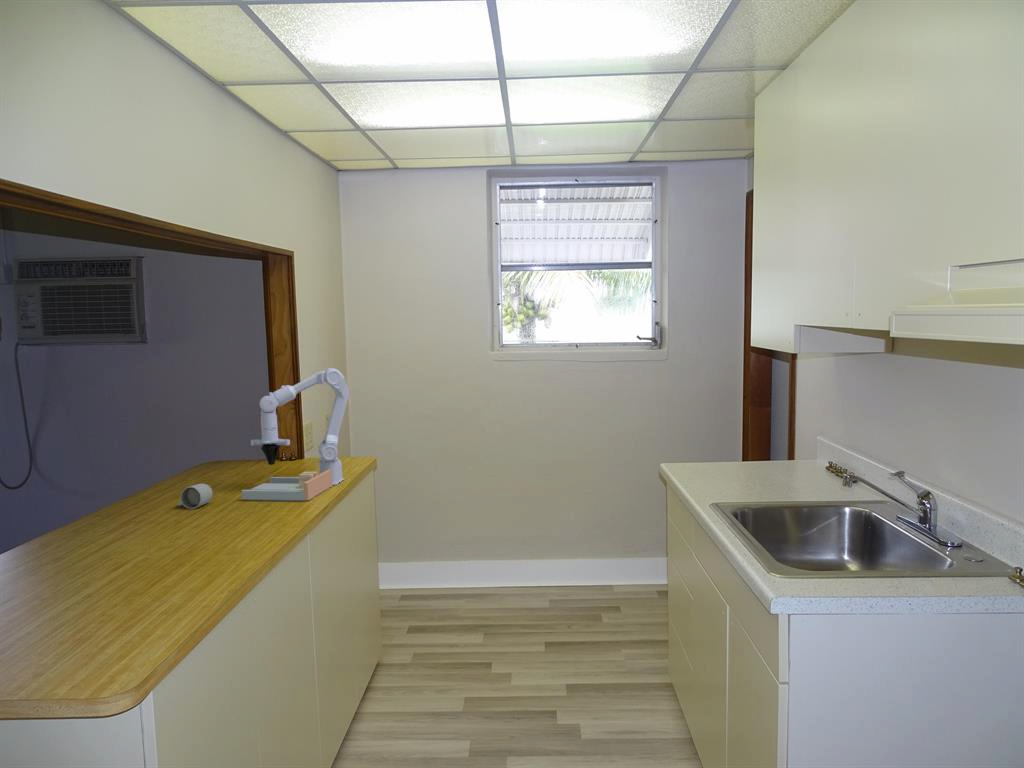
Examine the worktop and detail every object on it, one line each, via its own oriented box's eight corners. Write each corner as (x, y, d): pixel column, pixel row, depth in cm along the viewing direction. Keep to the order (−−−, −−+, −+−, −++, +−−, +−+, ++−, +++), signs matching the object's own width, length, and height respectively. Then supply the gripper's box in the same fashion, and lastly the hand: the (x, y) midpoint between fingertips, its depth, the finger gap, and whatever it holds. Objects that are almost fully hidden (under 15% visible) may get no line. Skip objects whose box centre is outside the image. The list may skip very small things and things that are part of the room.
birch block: (305, 485, 248) (304, 471, 248) (318, 485, 247) (317, 471, 247) (299, 488, 243) (298, 474, 243) (312, 488, 243) (311, 474, 242)
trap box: (271, 485, 259) (270, 469, 258) (332, 486, 255) (331, 469, 255) (242, 500, 238) (241, 482, 238) (308, 501, 235) (307, 483, 234)
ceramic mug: (215, 502, 237) (213, 481, 236) (201, 509, 228) (199, 486, 228) (187, 503, 238) (185, 481, 237) (172, 509, 230) (170, 487, 229)
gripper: (245, 429, 249) (247, 466, 250) (282, 429, 247) (284, 466, 248) (255, 426, 256) (257, 462, 257) (291, 426, 254) (293, 462, 255)
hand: (271, 464), depth 253 cm, fingers closed
